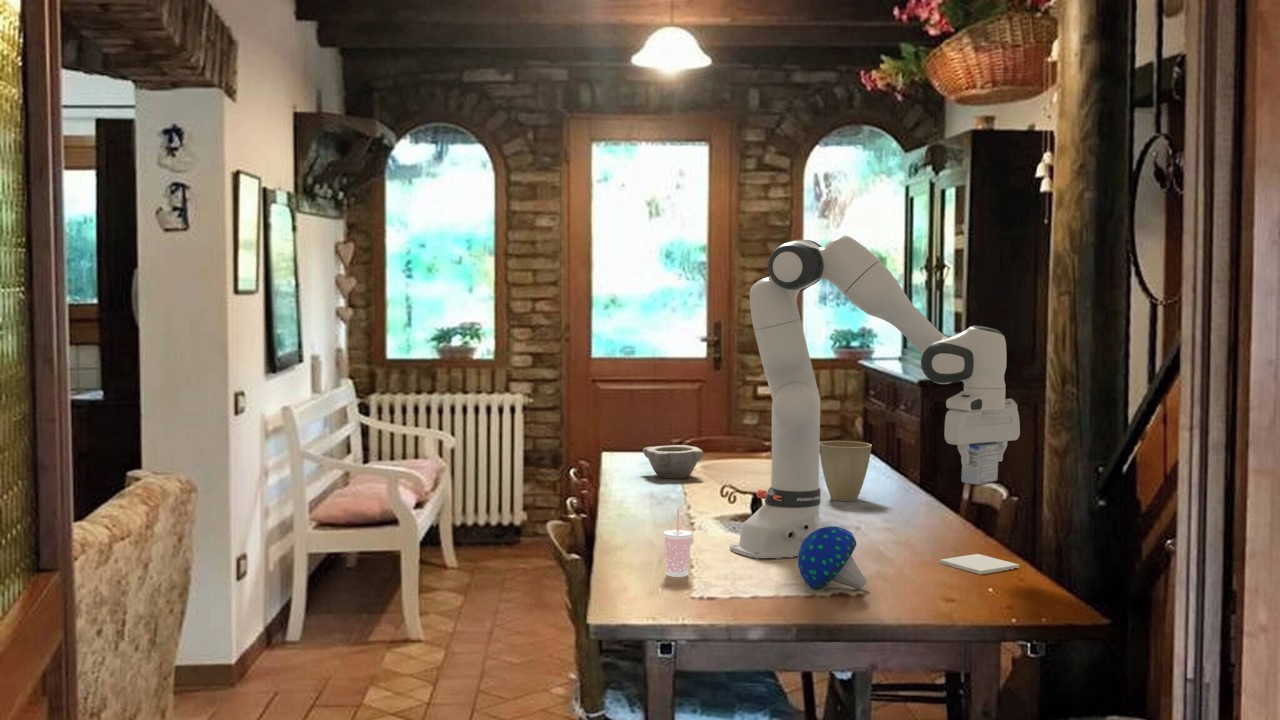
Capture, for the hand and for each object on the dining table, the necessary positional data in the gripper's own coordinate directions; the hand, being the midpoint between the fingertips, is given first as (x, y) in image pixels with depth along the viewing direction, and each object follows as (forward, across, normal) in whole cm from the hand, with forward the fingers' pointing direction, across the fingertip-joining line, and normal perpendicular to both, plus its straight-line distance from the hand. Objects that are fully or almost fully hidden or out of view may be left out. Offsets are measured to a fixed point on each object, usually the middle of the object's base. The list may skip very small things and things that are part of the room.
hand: (982, 462), depth 272 cm
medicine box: (+4, 0, 0) cm, 5 cm away
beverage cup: (+23, +63, -26) cm, 72 cm away
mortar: (+24, -6, -133) cm, 135 cm away
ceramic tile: (+23, 0, 0) cm, 23 cm away
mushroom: (+23, +42, -1) cm, 48 cm away
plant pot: (+23, -28, -77) cm, 85 cm away
